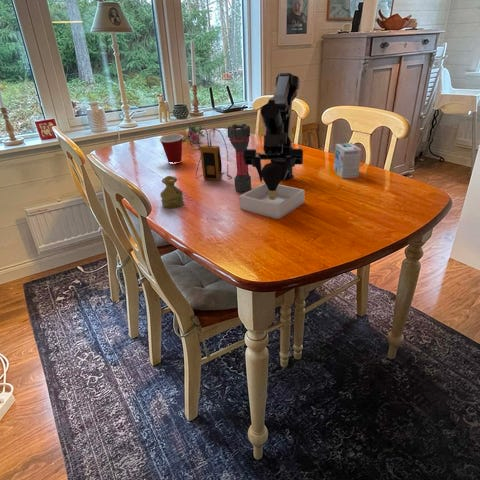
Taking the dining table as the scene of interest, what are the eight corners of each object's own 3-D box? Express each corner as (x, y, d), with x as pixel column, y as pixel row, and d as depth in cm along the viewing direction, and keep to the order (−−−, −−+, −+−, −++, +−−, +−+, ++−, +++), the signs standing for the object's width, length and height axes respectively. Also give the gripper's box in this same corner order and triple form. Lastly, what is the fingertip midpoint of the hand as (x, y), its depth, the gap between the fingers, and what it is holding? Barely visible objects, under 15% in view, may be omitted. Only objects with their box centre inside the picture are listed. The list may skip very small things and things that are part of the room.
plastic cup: (158, 165, 165) (154, 139, 160) (171, 159, 174) (167, 133, 168) (179, 167, 162) (175, 140, 156) (190, 160, 170) (187, 134, 165)
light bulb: (276, 205, 113) (276, 168, 108) (258, 201, 117) (257, 165, 111) (286, 197, 118) (286, 161, 112) (268, 194, 122) (267, 159, 116)
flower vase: (197, 149, 217) (205, 150, 184) (176, 145, 214) (181, 145, 181) (200, 129, 215) (209, 126, 182) (180, 124, 211) (185, 120, 178)
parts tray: (240, 208, 118) (239, 195, 116) (267, 194, 128) (266, 181, 126) (278, 219, 109) (278, 205, 107) (304, 202, 119) (304, 189, 117)
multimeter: (238, 173, 149) (235, 123, 139) (227, 181, 141) (223, 129, 132) (207, 170, 155) (202, 122, 145) (195, 178, 147) (189, 128, 137)
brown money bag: (174, 210, 120) (169, 181, 115) (157, 206, 123) (152, 178, 118) (188, 202, 125) (184, 174, 120) (172, 199, 129) (167, 171, 124)
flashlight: (237, 195, 128) (233, 129, 117) (228, 189, 134) (223, 125, 123) (256, 190, 131) (254, 125, 120) (246, 184, 137) (243, 122, 126)
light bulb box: (333, 170, 146) (335, 143, 141) (349, 168, 147) (351, 142, 142) (341, 178, 137) (344, 150, 132) (359, 177, 137) (362, 149, 132)
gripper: (242, 123, 111) (238, 170, 107) (303, 121, 108) (302, 169, 104) (247, 142, 122) (243, 185, 118) (303, 141, 119) (302, 185, 115)
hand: (271, 181), depth 113 cm, fingers closed on light bulb, 6 cm apart
